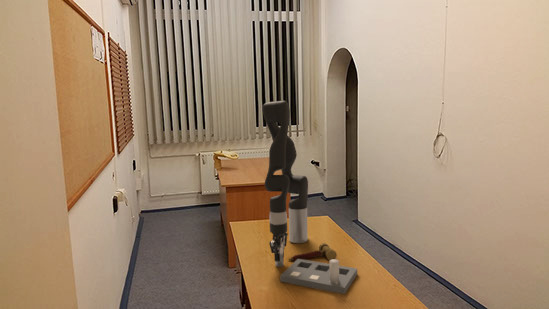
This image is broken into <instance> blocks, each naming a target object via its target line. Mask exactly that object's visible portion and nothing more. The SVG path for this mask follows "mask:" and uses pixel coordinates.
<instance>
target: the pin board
mask: <svg viewBox="0 0 549 309" xmlns="http://www.w3.org/2000/svg"><path fill="white" fill-rule="evenodd" d="M328 261H329V263H326V262H321V261H315V260H314V261H313V260H308V259H297V260H296V261H294V262H293V263H292V264H291V265H290V266H289V267H288V268H286V270H284V271H283V272H282V273H281V274H280V277H279V281H280V282H281V283H286V284H291V285H296V286H302V287H306V288H312V289H316V290H322V291H326V292H332V293H337V294H342V295H345V294H346V292H347V291H349V288H350V287H351V285H352V283H353V282H354V280H355V279H356V277H357V275H358V268H356V267H349V266H343V265H340V260H338V259H337V258H335V259H332V260H328Z"/></svg>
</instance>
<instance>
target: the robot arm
mask: <svg viewBox="0 0 549 309" xmlns="http://www.w3.org/2000/svg"><path fill="white" fill-rule="evenodd" d="M262 113H263V118H264V120H265V123H266V126H267V129H268V131H269V133H270V135H271V140H272V142H271V145H270V148H269V153H268V154H269V155H268V158H269V159H268V161H269V162H268V170H267V174H266V177H265V179H264V187H265V190H266V191H268V192H272V193H273V192H280V194H279V195H278V194H277V195H275V196H272V197H270V198H269V216H268V217H269V218H268V219H269V232H270V233H271V234H272V240H271V241H269V248H270V252H271V254H274V256H273V257H274V262H275V261H277V262H279V261H280V248H281V243H282V242H283V258H285V247H287V243H288V242H287V241H288V240H289V242H290V243H294V244H303V243H306V242H308V239H309V238H308V200H309V199H308V196H309V193H308V192H309V180H308V178H307V176H305V175H298V174H297V175H295V174H293V173H292V168H293V165H294V163H295V161H296V159H297V149H296V147H295V143H294V140H293V139H292V138H291V137H290V136H289V134H288V132H289V125H290V118H291V117H290V116H291V115H290V114H291V110H290V106H289V103H288V102H287V101H286V100H277V101H270V102H269V101H268V102H265V103H264V104H263V106H262ZM278 123H280V125H279V124H278ZM277 171H281V174H275V172H277ZM288 194H293V195H298V197H297V198H295V199H292V200H289V201H288V214H287V196H288ZM288 236H289V237H288ZM288 238H289V239H288ZM276 245H279V246H276ZM277 248H278V250H277Z"/></svg>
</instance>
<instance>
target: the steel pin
mask: <svg viewBox="0 0 549 309" xmlns="http://www.w3.org/2000/svg"><path fill="white" fill-rule="evenodd" d="M276 246H279V245H276ZM277 250H278V248H277ZM284 258H285V257H284ZM284 258H283V242H282V243H281V248H280V261H279V262H277V261H275V260H274V263H275V267H277V268H282V267H284V266H285V264H284V260H285V259H284Z"/></svg>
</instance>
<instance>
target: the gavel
mask: <svg viewBox="0 0 549 309" xmlns="http://www.w3.org/2000/svg"><path fill="white" fill-rule="evenodd" d="M322 256H325V257H326V258H327V260H328V261H330V260H332V259H337V252H336V251H335V250H334V249H332V247H330V246H329V245H328V244H327V243H326V242H323V243H320V244H319V246H318V250H314V251H310V252H305V253H299V254H294V255H293V256H290V257H289V258H288V261H291V262H292V261H294V262H295V261H296V260H297V259H303V260H308V259H312V258H318V257H322Z"/></svg>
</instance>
